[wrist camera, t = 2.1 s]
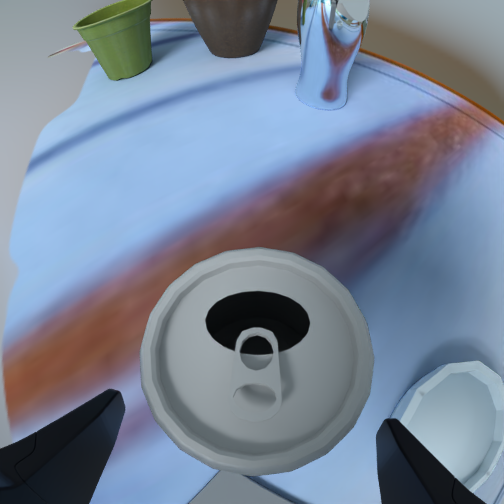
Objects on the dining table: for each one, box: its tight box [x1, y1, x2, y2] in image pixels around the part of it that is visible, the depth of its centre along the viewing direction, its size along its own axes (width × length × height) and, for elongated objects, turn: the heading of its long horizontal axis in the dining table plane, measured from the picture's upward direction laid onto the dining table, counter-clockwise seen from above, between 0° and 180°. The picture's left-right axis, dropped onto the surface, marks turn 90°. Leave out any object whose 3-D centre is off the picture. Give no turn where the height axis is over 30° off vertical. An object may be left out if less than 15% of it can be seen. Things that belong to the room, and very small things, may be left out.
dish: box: [390, 361, 504, 493], centre depth 14 cm, size 11×11×2 cm
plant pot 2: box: [183, 0, 277, 58], centre depth 30 cm, size 15×15×16 cm
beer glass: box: [295, 0, 370, 110], centre depth 24 cm, size 7×7×15 cm
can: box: [140, 247, 374, 476], centre depth 12 cm, size 8×8×12 cm
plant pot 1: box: [73, 0, 152, 80], centre depth 31 cm, size 12×12×11 cm
